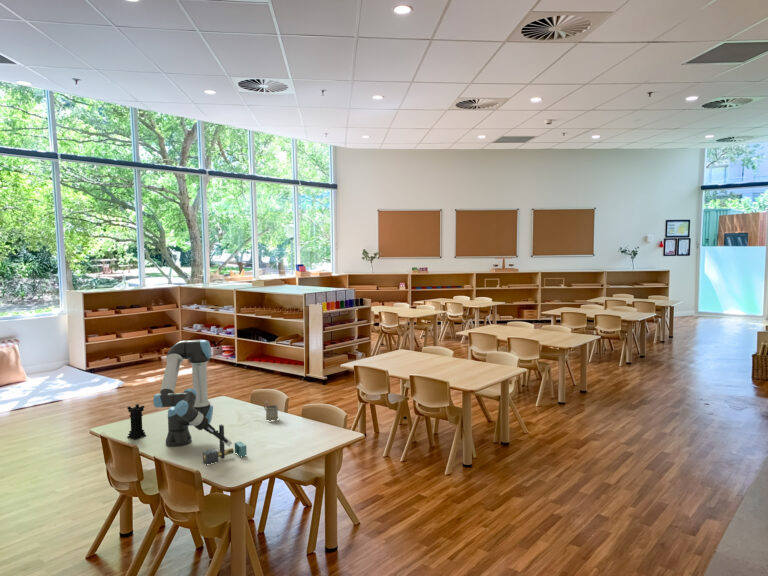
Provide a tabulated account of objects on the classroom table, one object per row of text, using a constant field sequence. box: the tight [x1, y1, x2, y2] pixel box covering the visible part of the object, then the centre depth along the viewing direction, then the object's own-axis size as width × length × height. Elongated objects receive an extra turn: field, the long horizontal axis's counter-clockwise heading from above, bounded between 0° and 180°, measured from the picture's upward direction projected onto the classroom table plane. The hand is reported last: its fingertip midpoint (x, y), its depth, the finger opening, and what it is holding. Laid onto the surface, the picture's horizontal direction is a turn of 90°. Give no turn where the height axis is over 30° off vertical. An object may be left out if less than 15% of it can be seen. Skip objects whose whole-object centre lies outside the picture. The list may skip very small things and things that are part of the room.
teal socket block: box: [233, 440, 248, 458], centre depth 298 cm, size 9×4×6 cm, turn 39°
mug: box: [263, 401, 279, 421], centre depth 362 cm, size 14×10×12 cm
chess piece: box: [126, 403, 147, 441], centre depth 328 cm, size 8×8×20 cm
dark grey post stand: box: [202, 424, 235, 461], centre depth 289 cm, size 3×16×19 cm, turn 129°
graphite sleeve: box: [202, 448, 219, 466], centre depth 287 cm, size 5×7×6 cm
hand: (227, 442), depth 292 cm, fingers open, 8 cm apart
